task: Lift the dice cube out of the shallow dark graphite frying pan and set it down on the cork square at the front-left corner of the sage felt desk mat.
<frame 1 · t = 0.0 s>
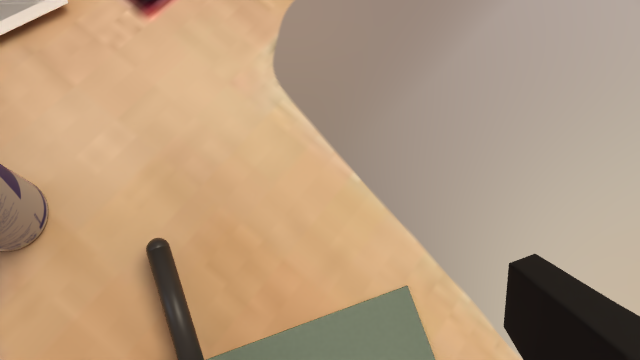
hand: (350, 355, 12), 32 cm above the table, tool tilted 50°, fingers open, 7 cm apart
energy drink: (12, 215, 43), on the table
pan handle: (178, 318, 40), point 2 cm above the table
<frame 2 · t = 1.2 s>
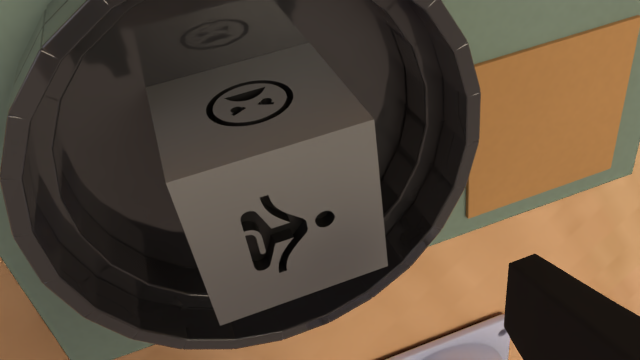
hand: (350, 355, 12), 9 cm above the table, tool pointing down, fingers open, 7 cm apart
frying pan: (245, 130, 19), resting on desk mat
desk mat: (357, 82, 19), on the table
dice cube: (246, 131, 19), resting on frying pan
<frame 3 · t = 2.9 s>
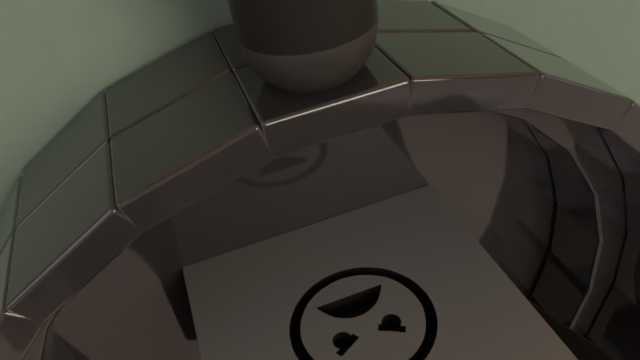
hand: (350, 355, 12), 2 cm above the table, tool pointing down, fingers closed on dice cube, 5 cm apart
frying pan: (324, 298, 13), resting on desk mat
desk mat: (485, 224, 13), on the table
dice cube: (324, 302, 13), resting on frying pan, touching gripper
when the fingers open (2 cm above the table, at t = 7.7 s): dice cube stays where it is, resting on desk mat.
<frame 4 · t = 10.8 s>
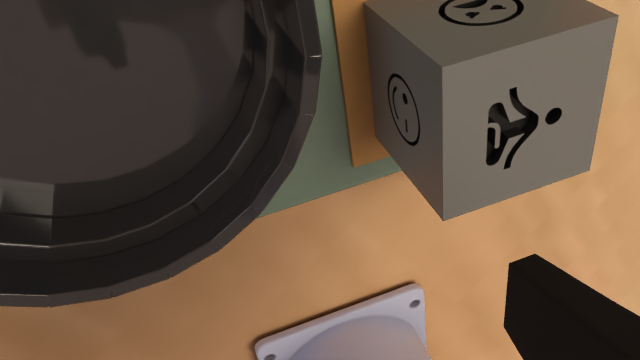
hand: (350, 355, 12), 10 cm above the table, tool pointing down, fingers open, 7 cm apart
frying pan: (52, 46, 16), resting on desk mat
dice cube: (434, 52, 20), resting on desk mat
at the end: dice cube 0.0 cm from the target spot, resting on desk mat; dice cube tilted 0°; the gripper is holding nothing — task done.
